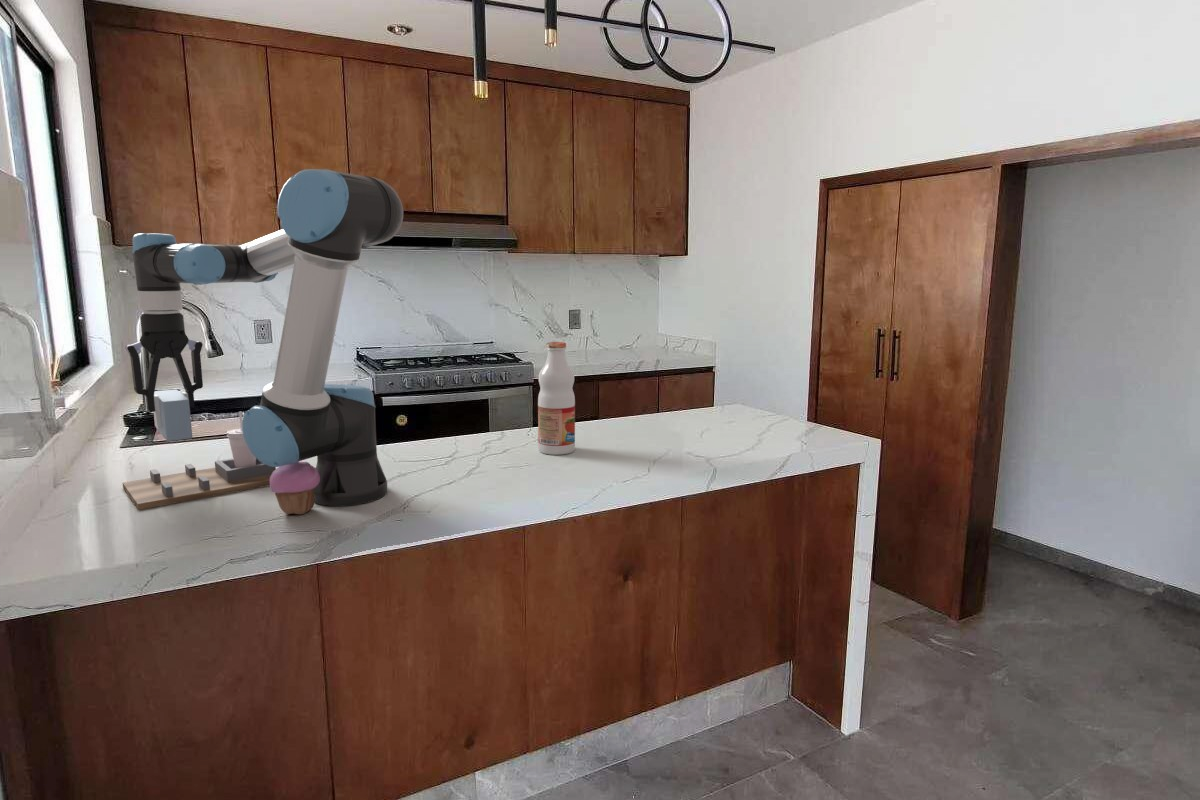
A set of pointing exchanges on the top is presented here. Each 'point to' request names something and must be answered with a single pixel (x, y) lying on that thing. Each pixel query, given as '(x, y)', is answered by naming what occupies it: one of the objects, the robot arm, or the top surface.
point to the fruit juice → (556, 403)
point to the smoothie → (240, 447)
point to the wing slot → (190, 472)
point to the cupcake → (295, 487)
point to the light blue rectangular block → (174, 415)
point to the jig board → (186, 488)
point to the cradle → (241, 470)
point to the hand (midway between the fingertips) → (173, 424)
